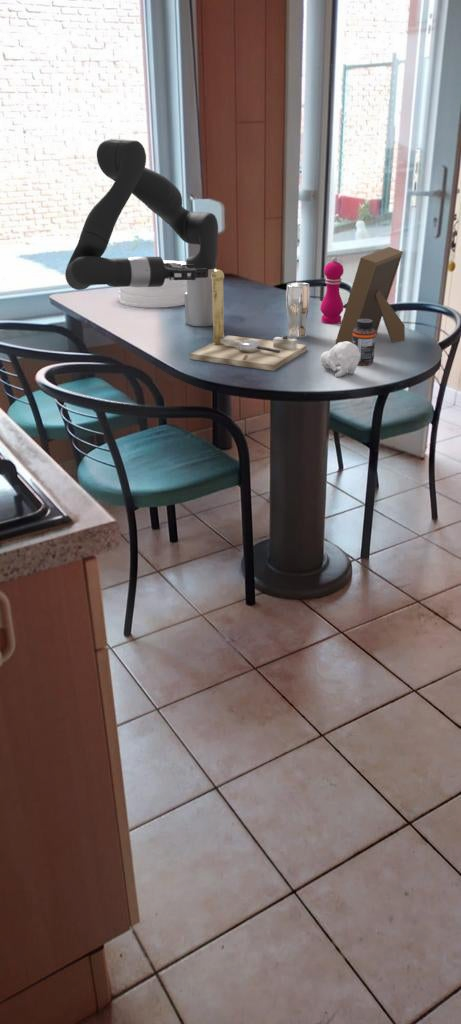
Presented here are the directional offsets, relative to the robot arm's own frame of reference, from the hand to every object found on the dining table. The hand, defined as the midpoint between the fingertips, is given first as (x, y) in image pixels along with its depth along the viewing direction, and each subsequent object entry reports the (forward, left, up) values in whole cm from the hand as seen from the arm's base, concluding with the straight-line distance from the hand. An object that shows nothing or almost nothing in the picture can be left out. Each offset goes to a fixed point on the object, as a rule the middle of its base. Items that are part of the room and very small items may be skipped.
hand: (201, 270), depth 207 cm
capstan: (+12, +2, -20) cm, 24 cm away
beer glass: (+16, +28, -22) cm, 39 cm away
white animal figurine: (+40, -2, -22) cm, 46 cm away
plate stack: (-50, +55, -22) cm, 77 cm away
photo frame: (+39, +31, -22) cm, 55 cm away
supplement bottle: (+43, +9, -22) cm, 50 cm away
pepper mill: (+19, +49, -22) cm, 57 cm away
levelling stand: (+13, +3, -22) cm, 26 cm away
